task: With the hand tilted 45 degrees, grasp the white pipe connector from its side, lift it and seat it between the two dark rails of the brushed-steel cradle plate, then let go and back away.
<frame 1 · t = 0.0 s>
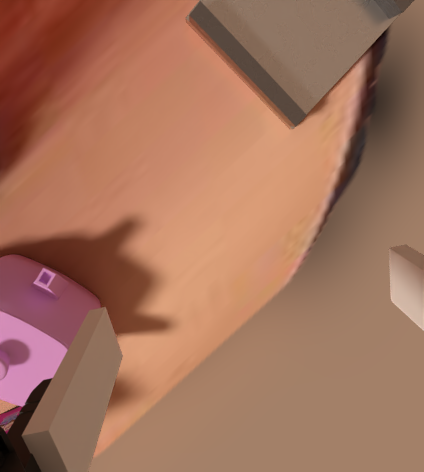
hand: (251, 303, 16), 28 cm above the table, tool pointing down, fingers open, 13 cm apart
cradle plate: (292, 18, 37), on the table
teakettle: (46, 305, 47), on the table
candy bar box: (11, 423, 53), on the table
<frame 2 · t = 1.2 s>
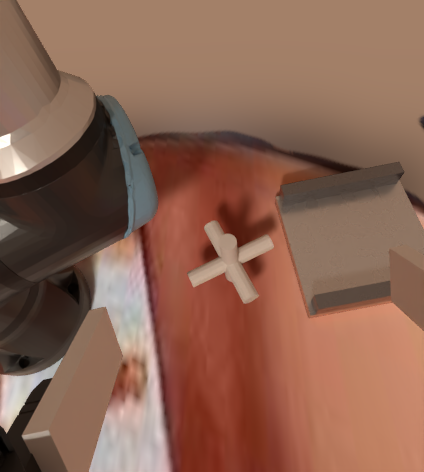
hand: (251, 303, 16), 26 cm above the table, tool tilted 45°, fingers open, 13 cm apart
cradle plate: (353, 243, 44), on the table
pipe connector: (232, 275, 44), on the table
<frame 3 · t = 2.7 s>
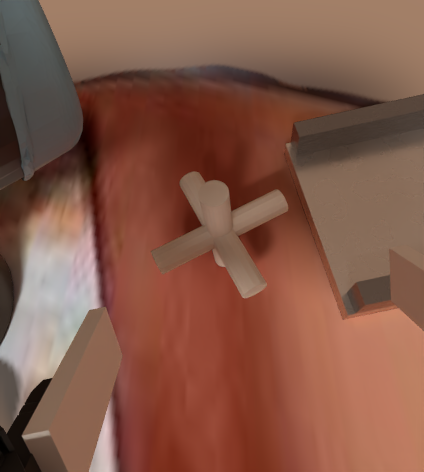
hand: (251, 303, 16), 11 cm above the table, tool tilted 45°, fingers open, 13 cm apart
cradle plate: (402, 207, 29), on the table
pipe connector: (225, 257, 29), on the table
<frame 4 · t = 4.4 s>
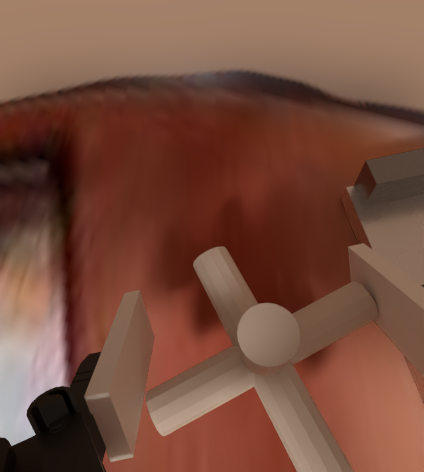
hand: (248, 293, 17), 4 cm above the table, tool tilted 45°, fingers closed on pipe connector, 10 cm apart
pipe connector: (260, 365, 19), on the table, touching gripper
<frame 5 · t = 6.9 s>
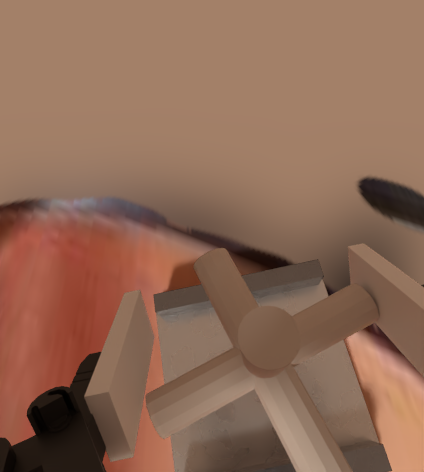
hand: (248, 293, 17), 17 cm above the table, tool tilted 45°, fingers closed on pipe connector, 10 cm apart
cradle plate: (256, 374, 31), on the table
pipe connector: (261, 367, 19), point 13 cm above the table, touching gripper
when the fingers open (7 cm above the table, at t = 9.3 s): pipe connector drops 1 cm, resting on cradle plate.
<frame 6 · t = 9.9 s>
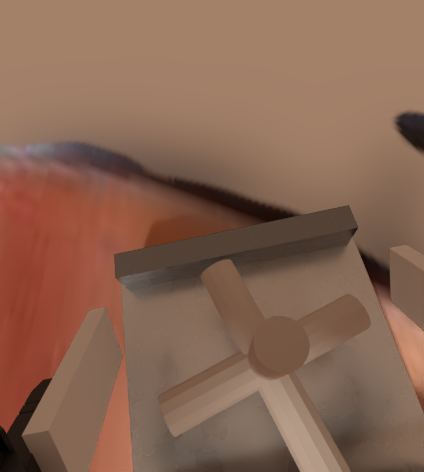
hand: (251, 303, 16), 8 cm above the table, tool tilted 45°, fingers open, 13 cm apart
cradle plate: (259, 369, 22), on the table
pipe connector: (258, 370, 21), point 1 cm above the table, touching cradle plate
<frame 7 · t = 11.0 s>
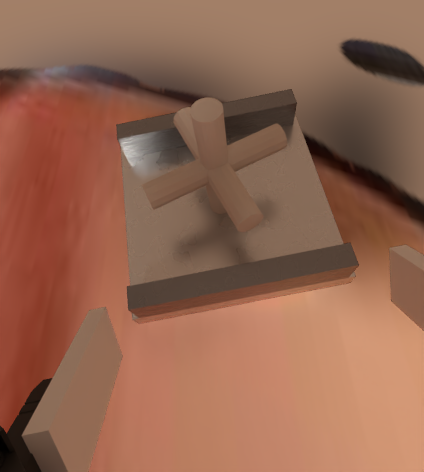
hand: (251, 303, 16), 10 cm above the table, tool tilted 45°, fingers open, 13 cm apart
cradle plate: (224, 211, 29), on the table
pipe connector: (221, 205, 28), point 1 cm above the table, touching cradle plate
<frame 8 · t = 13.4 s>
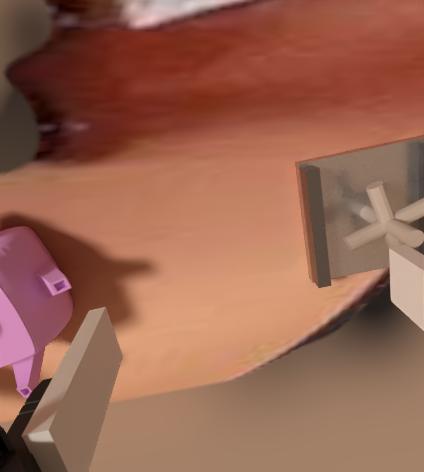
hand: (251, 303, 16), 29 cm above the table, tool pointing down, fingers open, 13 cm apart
cradle plate: (363, 210, 45), on the table
pipe connector: (366, 212, 44), point 1 cm above the table, touching cradle plate
teakettle: (22, 281, 46), on the table
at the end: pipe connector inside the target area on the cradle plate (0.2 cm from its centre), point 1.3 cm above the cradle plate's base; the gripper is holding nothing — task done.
